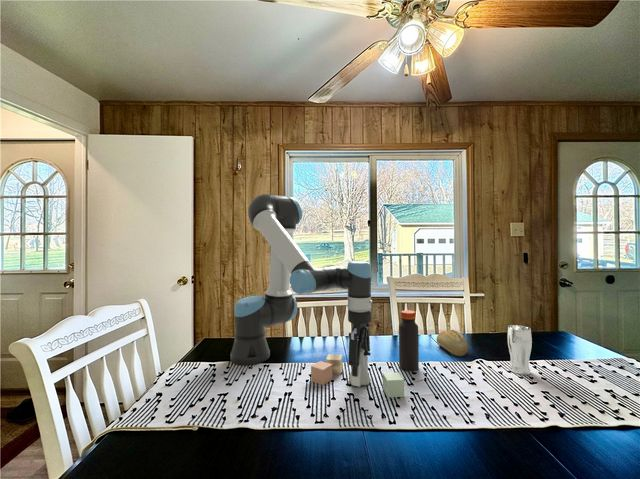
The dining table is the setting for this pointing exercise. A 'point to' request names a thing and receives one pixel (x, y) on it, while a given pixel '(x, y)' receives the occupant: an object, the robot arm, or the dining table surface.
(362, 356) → the flask
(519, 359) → the beer glass
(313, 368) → the terracotta block
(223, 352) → the dining table surface
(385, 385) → the sage block
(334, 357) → the maple block
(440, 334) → the bread roll
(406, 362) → the bottle
